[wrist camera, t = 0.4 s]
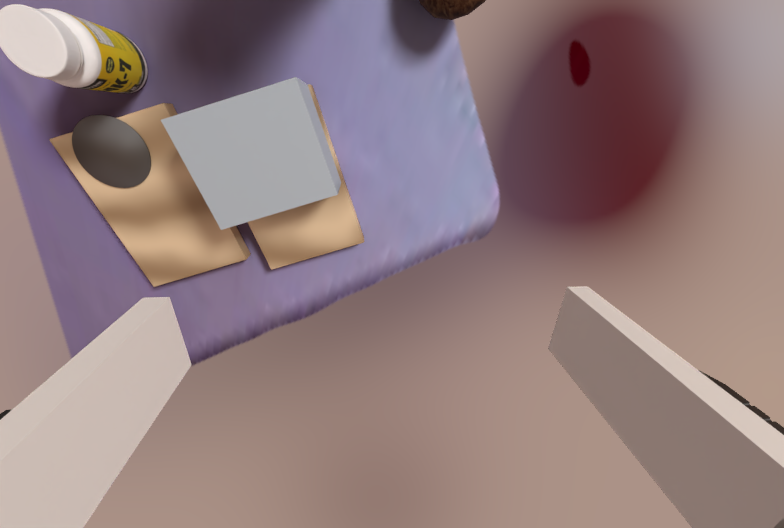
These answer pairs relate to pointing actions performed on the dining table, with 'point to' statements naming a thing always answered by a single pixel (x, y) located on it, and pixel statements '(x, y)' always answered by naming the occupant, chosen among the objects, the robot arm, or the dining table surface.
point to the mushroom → (450, 7)
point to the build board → (148, 194)
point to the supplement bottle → (71, 50)
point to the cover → (256, 152)
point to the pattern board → (309, 223)
